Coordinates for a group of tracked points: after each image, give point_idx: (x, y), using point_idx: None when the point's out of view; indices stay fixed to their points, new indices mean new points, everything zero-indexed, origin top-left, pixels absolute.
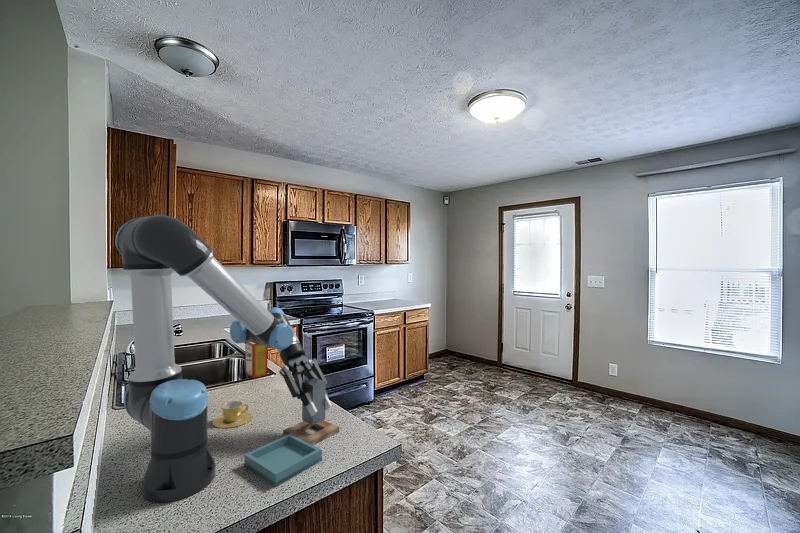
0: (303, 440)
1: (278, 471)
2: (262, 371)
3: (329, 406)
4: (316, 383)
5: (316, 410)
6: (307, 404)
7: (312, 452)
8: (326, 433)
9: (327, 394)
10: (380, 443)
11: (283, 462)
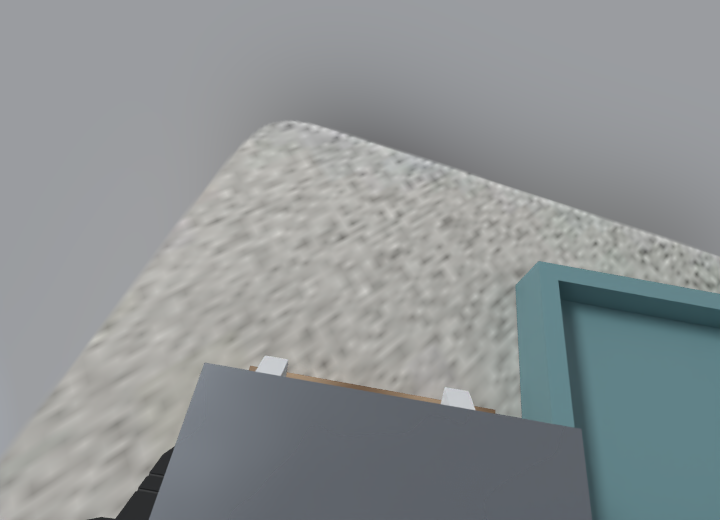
0: None
1: None
2: None
3: (285, 371)
4: (438, 460)
5: (452, 395)
6: None
7: (584, 281)
8: (356, 385)
9: (168, 457)
10: (278, 158)
11: (676, 402)
